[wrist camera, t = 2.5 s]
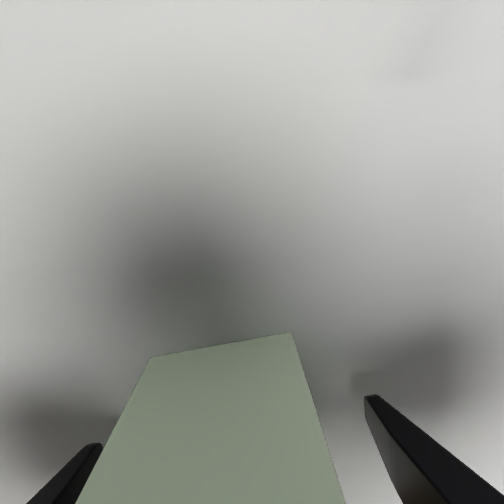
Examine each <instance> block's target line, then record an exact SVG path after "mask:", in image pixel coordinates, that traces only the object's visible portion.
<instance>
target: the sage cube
mask: <svg viewBox="0 0 504 504" xmlns="http://www.w3.org/2000/svg"><path fill="white" fill-rule="evenodd" d="M75 504H346V503H345V499H344V496H343V493H342V490H341V487H340V484H339V481H338V477H337V474H336V471H335V468H334V465H333V462H332V459H331V455H330V452H329V449H328V446H327V443H326V440H325V437H324V433H323V430H322V427H321V424H320V421H319V418H318V415H317V411H316V408H315V405H314V402H313V399H312V396H311V393H310V389H309V386H308V383H307V380H306V377H305V374H304V371H303V367H302V364H301V361H300V358H299V355H298V352H297V348H296V345H295V342H294V339H293V336H292V333H291V332H290V333H284V334H278V335H273V336H267V337H262V338H256V339H250V340H245V341H239V342H234V343H228V344H222V345H217V346H211V347H206V348H200V349H194V350H189V351H183V352H177V353H172V354H166V355H161V356H155V357H150V359H149V361H148V363H147V365H146V367H145V369H144V371H143V373H142V375H141V377H140V379H139V381H138V383H137V385H136V387H135V389H134V391H133V392H132V394H131V396H130V398H129V400H128V402H127V404H126V406H125V408H124V410H123V412H122V414H121V416H120V418H119V420H118V422H117V424H116V426H115V427H114V429H113V431H112V433H111V435H110V437H109V439H108V441H107V443H106V445H105V447H104V449H103V451H102V453H101V455H100V457H99V459H98V460H97V462H96V464H95V466H94V468H93V470H92V472H91V474H90V476H89V478H88V480H87V482H86V484H85V486H84V488H83V490H82V492H81V494H80V495H79V497H78V499H77V501H76V503H75Z"/></svg>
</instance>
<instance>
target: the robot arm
mask: <svg viewBox="0 0 504 504" xmlns="http://www.w3.org/2000/svg"><path fill="white" fill-rule="evenodd" d="M364 407H365V417H366V420H367V423H368V426H369V428H370V430H371V433H372V435H373V438H374V440H375V443H376V445H377V447H378V450H379V452H380V455H381V457H382V460H383V462H384V464H385V467H386V469H387V472H388V474H389V476H390V479H391V481H392V483H393V485H394V487H395V489H396V491H397V493H398V495H399V497H400V498H401V500H402V502H403V504H504V495H503V494H501V493H500V492H499V491H498V490H496V489H495V488H494V487H493V486H491V485H490V484H489V483H488V482H486V481H485V480H484V479H483V478H481V477H480V476H479V475H478V474H476V473H475V472H474V471H473V470H471V469H470V468H469V467H468V466H466V465H465V464H464V463H463V462H461V461H460V460H459V459H457V458H456V457H455V456H454V455H452V454H451V453H450V452H449V451H447V450H446V449H445V448H444V447H442V446H441V445H440V444H439V443H437V442H436V441H435V440H434V439H432V438H431V437H430V436H429V435H427V434H426V433H425V432H424V431H422V430H421V429H420V428H419V427H417V426H416V425H415V424H414V423H412V422H411V421H410V420H409V419H407V418H406V417H405V416H404V415H402V414H401V413H400V412H399V411H397V410H396V409H395V408H394V407H392V406H391V405H390V404H389V403H387V402H386V401H385V400H384V399H382V398H381V397H380V396H378V395H376V394H373V395H368V396H365V397H364ZM103 449H104V448H103V446H102V445H101V443H92V444H88V445H86V446H85V447H84V448H83V449H81V450H80V451H79V452H78V453H77V454H76V455H75V456H74V457H73V458H72V459H71V460H70V461H69V462H68V463H67V464H66V465H65V466H64V467H63V468H62V469H61V470H60V471H59V472H58V473H57V474H56V475H55V476H54V477H53V478H52V479H51V480H50V481H49V482H48V483H47V484H46V485H45V486H44V487H43V488H42V489H41V490H40V491H39V492H38V493H37V494H36V495H35V496H34V497H33V498H32V499H31V500H30V501H29V502H28V503H27V504H75V503H76V501H77V499H78V497H79V495H80V494H81V492H82V490H83V488H84V486H85V484H86V482H87V480H88V478H89V476H90V474H91V472H92V470H93V468H94V466H95V464H96V462H97V460H98V459H99V457H100V455H101V453H102V451H103Z"/></svg>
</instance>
